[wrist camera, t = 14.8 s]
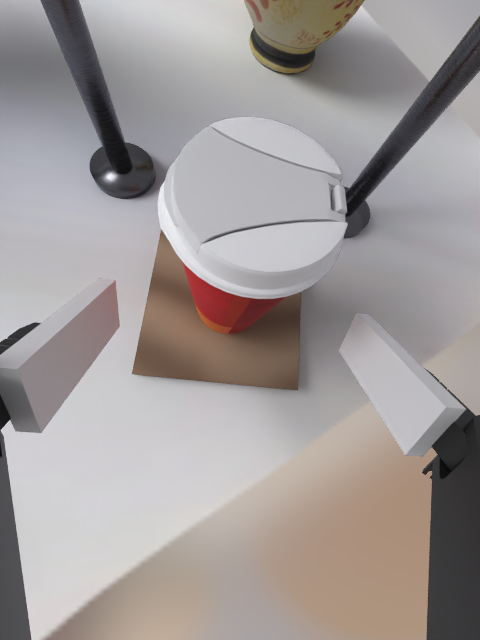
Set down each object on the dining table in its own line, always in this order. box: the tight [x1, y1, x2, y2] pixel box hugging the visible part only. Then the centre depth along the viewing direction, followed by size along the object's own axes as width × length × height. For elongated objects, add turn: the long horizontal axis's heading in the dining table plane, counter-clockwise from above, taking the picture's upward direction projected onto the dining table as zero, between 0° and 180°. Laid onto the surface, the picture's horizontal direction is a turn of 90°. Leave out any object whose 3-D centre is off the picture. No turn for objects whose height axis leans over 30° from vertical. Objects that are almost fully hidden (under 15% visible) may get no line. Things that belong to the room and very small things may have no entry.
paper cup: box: [158, 117, 348, 334], centre depth 16 cm, size 8×8×14 cm
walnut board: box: [132, 229, 301, 390], centre depth 23 cm, size 14×14×1 cm
